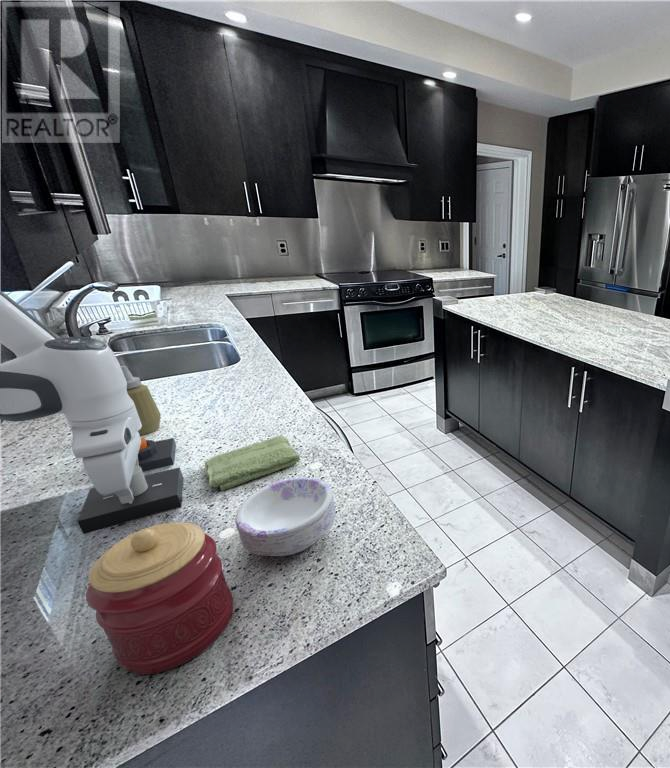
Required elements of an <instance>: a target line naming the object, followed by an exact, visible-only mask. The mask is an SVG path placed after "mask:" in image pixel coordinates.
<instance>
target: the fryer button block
mask: <svg viewBox="0 0 670 768" xmlns="http://www.w3.org/2000/svg"><path fill="white" fill-rule="evenodd" d="M145 440H146V443H147V447H146V448H145V449H142V450H140V451H139V453H138V463H139V467H141V469H142V472H143V473H145V472H149V471H152V470H157V469H162V468H166V467H170V466H174V465H175V458H176V450H177V444H176V441H175V438H174V437H171V438H166V439H160V440H156V441H155V440H152V439H145Z"/></svg>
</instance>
